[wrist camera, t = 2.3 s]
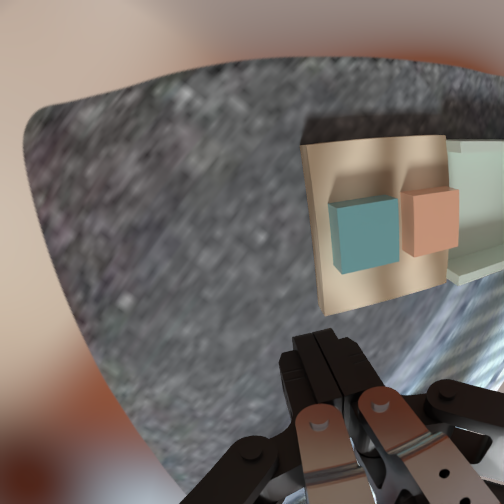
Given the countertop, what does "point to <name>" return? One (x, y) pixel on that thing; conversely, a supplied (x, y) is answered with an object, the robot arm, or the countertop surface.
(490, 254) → the box
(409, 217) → the terracotta tile
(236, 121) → the countertop surface
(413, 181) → the maple plate
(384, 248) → the teal square block
